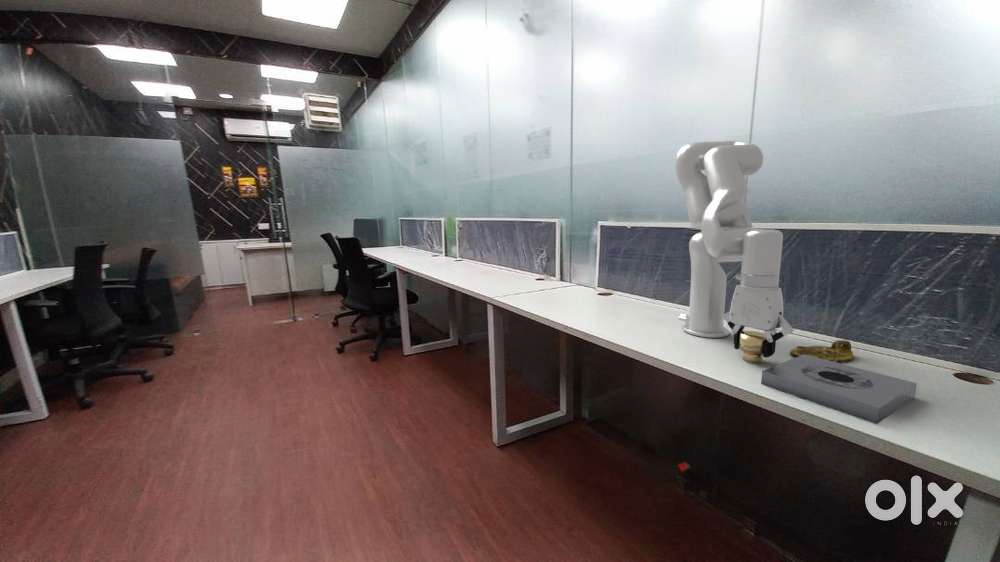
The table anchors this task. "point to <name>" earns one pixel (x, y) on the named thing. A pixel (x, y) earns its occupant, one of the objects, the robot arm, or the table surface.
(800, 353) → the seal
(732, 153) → the robot arm
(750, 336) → the gold cylinder
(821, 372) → the jig
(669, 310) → the table surface
